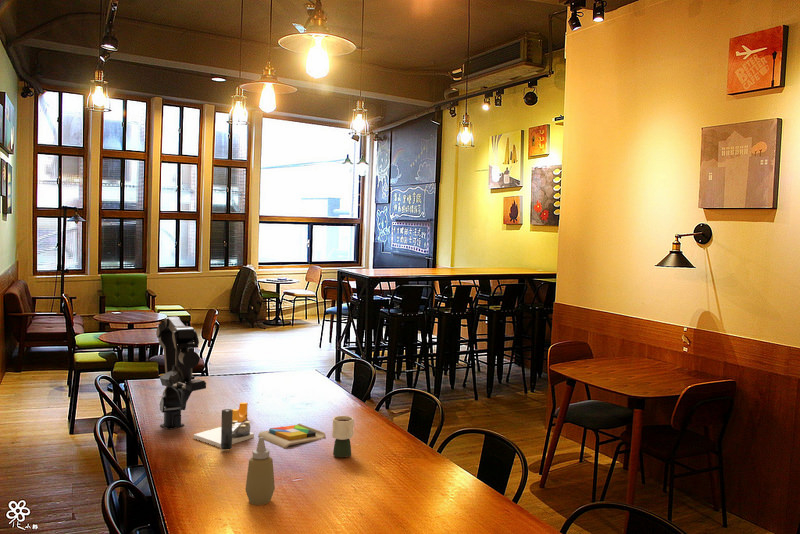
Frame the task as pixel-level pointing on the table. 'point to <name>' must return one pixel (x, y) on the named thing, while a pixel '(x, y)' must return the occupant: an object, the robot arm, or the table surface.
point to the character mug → (342, 435)
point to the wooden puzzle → (291, 435)
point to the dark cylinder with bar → (232, 429)
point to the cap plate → (218, 437)
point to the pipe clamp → (240, 412)
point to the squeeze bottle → (260, 476)
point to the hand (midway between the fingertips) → (183, 405)
